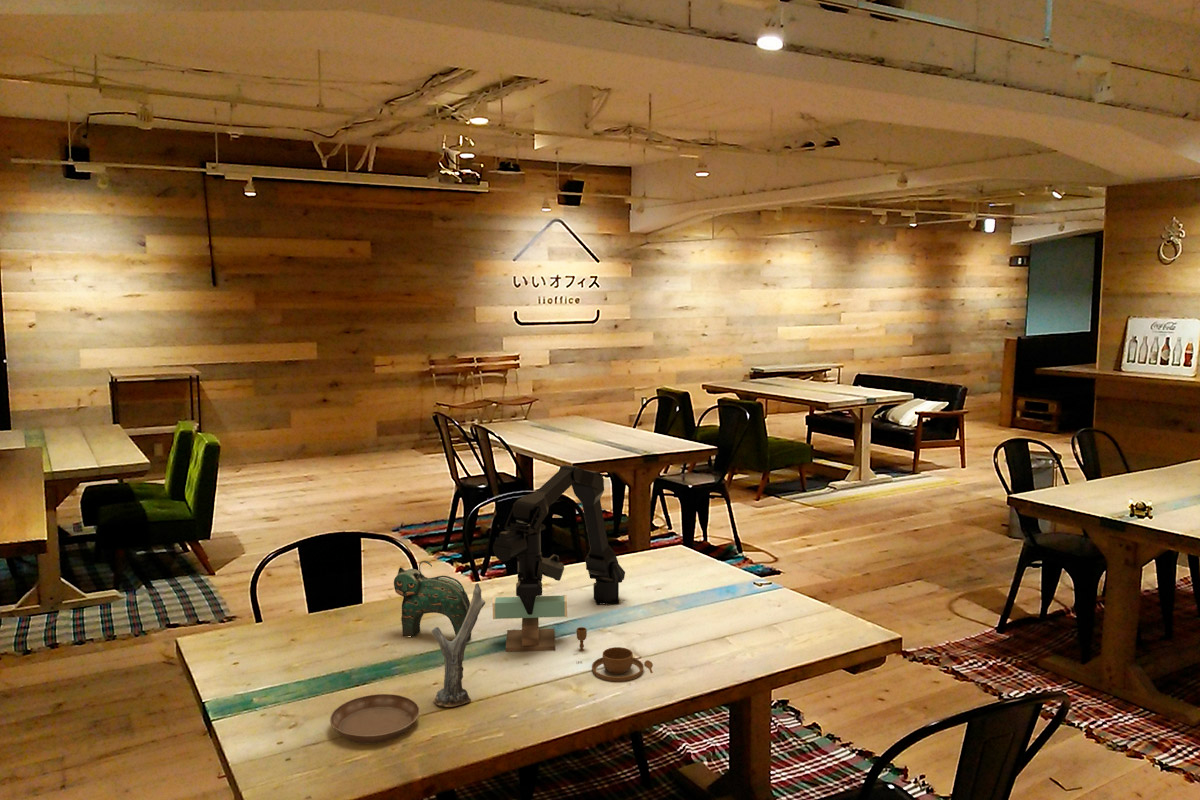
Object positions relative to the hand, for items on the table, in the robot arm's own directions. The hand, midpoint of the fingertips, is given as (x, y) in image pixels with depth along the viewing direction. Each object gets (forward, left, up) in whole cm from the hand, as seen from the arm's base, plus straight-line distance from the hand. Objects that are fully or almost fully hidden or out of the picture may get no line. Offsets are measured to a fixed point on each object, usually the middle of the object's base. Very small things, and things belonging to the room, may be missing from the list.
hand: (530, 611), depth 227 cm
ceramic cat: (+24, -5, -8) cm, 26 cm away
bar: (0, 0, -1) cm, 1 cm away
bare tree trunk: (+15, +29, -8) cm, 34 cm away
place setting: (-20, +14, -9) cm, 26 cm away
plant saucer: (+31, +40, -8) cm, 51 cm away
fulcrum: (0, 0, -8) cm, 8 cm away
